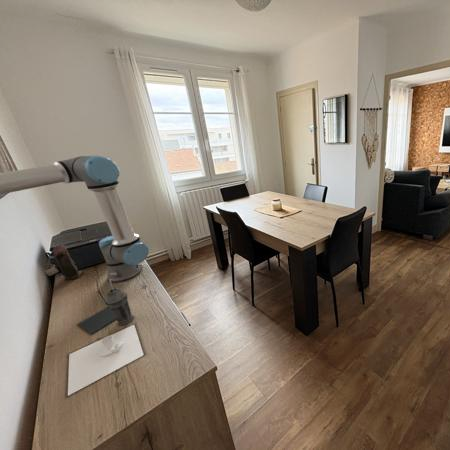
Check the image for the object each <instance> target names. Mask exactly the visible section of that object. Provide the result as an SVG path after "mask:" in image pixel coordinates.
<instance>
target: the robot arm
mask: <svg viewBox="0 0 450 450" xmlns="http://www.w3.org/2000/svg"><path fill="white" fill-rule="evenodd" d="M119 176H120V168H119V166H118V164H117V163H116V162H115V161H114V160H112V159H110V158H109V157H107V156H102V155H87V156H86V155H80V156H76V157H72V158H68V159H64V160H59V161H54V162H53V164H48V165H45V166H44V165H43V166H35V167H31V168H30V167H29V168H24V169H16V170H11V171H4V172H0V195H5V194H11V193H15V192H19V191H25V190H30V189H35V188H39V187H44V186H50V185H55V184H60V183H63V184H71V183H82V182H83V183H84V184H85V186H86V188H87V190H89V191H91V192H92V193H94V195H95V198H96V200H97V202H98V205H99V207H100V209H101V212H102V215H103V217H104V219H105V221H106V224H107V226H108V228H109V231H110V233H111V236H107V237H105V238H102V239H100V240H99V241H98V246H99V249H100V252H101V254H102V257H103V258H104V261H105V263H106V265H107V279H108V280H109V279H110V280H111V283H118V282H124V281H126V280H130V279H132V278H134V277H136V276H137V275H139V273H140V272H141V271H142V268H141V267H142V266H143V265H142V263H143V262H144V261H145V260H146V259H147V257H148V256H149V247H148V245H146V244H145V242H142V240H141V237H140V235H139V234H138V233H135V231H134V229H133V227H132V224H131V221H130V219H129V216H128V213H127V211H126V209H125V205H124V204H123V200H122V198H121V195H120V192H119V190H118V187H119V185H120V182H119Z"/></svg>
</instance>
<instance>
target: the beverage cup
mask: <svg viewBox="0 0 450 450" xmlns="http://www.w3.org/2000/svg"><path fill="white" fill-rule="evenodd" d="M108 282H109V284H110V287H111V289H110V290H109V291H107V293H106V294H105V296H104V304H105V305H106V306H107V307H109V308H110V309H111V311H112V313H113V314H114V316H115V318H116V321H117V322H118V324H119V326H124V325H127V324H129V323H131V322H132V321H133V317H132V316H133V315H132V312H131V308H130V304H129V300H128V293H127V292H126V291H125V290H124V289H122V288H120V287H119V288H118V287H117V288H114V285H113V282H111V280H110V279H108Z"/></svg>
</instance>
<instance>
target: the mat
mask: <svg viewBox="0 0 450 450" xmlns="http://www.w3.org/2000/svg"><path fill="white" fill-rule="evenodd" d="M115 321H117V319H116V318H115V316H114V314H113V313H112V311H111V309H110V308H109V307H108V306H107V307H106V308H105V307H104V309H102V310H100V311H99V312H96V313H95V314H93V315H91V316H89V317H88V318H86V319H85V320H82V321H80V322H79V323H77V324H76V325H77V326H79V327H80V328H81V329H83V330H84V331H86V332H88V333H89V334H90V335H93V334H95V333H97V332H98V331H100V330H101V329H103V328H104V327H106V326H108V325H110V324H111V323H112V322H115Z"/></svg>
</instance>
